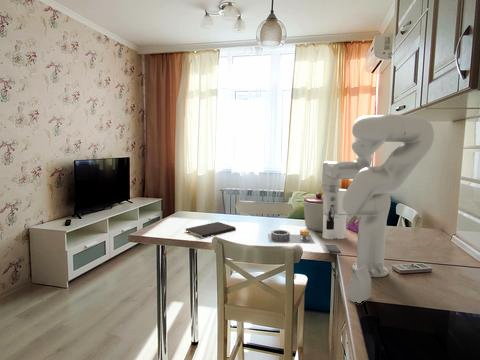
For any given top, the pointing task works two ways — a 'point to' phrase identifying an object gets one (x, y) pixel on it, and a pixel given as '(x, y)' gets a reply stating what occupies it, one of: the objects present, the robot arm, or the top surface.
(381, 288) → the top surface
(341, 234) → the cylindrical container
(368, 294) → the white doll dress
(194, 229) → the hardcover book
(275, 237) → the plate
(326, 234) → the cylinder
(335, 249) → the mat
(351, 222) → the candy bar box
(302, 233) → the plunger
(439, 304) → the top surface
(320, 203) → the canister
